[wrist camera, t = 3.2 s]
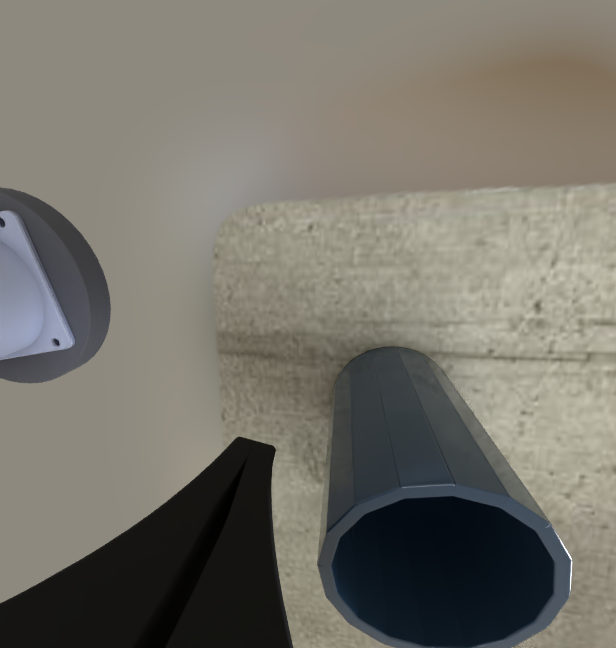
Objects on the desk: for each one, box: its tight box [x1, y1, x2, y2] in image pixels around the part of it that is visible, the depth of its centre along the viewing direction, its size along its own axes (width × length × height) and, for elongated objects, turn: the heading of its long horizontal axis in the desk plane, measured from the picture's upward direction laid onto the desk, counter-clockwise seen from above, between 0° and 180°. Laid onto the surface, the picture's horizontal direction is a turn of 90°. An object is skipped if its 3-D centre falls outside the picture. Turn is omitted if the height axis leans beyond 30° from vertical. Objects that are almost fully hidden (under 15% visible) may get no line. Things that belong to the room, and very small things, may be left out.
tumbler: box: [317, 347, 572, 648], centre depth 12 cm, size 6×6×9 cm
